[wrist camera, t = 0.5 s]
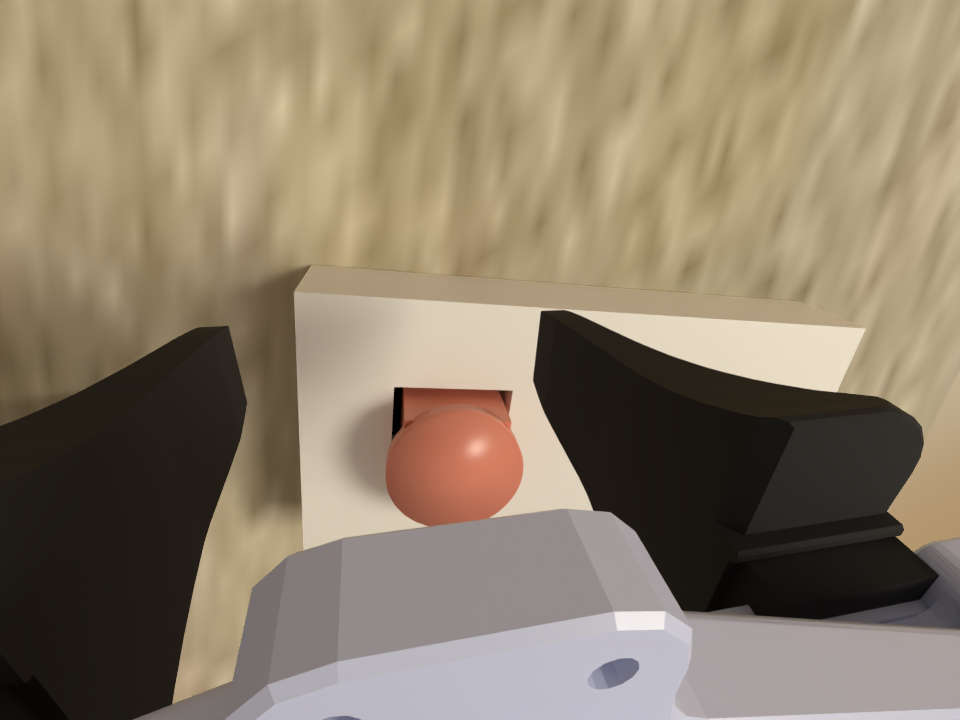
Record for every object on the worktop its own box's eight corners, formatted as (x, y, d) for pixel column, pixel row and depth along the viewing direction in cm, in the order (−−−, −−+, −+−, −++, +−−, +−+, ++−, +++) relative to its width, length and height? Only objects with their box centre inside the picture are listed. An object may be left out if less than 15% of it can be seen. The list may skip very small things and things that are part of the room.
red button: (492, 459, 24) (513, 526, 20) (385, 459, 23) (383, 530, 19) (507, 363, 22) (533, 416, 18) (389, 359, 21) (388, 413, 17)
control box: (725, 488, 30) (770, 536, 26) (316, 493, 25) (303, 552, 22) (798, 301, 25) (866, 328, 21) (311, 264, 20) (293, 291, 17)
